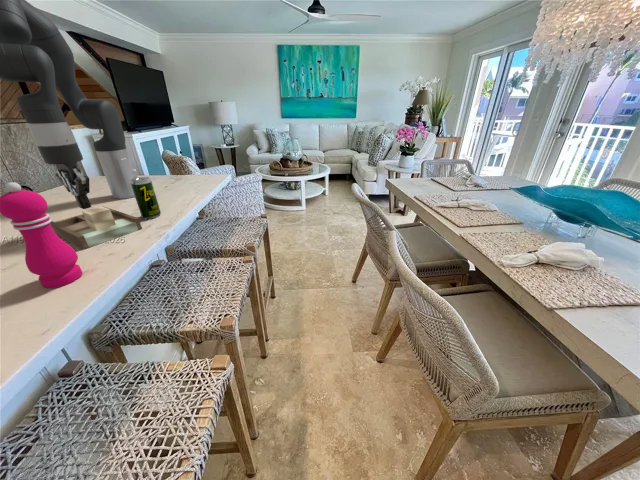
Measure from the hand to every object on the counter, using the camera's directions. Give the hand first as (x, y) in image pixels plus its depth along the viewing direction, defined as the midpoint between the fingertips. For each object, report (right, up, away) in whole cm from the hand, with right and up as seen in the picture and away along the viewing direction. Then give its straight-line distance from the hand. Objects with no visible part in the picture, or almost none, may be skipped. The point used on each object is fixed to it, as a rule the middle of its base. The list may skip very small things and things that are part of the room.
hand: (86, 207), depth 74 cm
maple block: (+7, -5, -2) cm, 9 cm away
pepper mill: (+13, -17, -20) cm, 29 cm away
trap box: (+2, -6, +1) cm, 7 cm away
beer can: (+12, -2, +11) cm, 16 cm away
